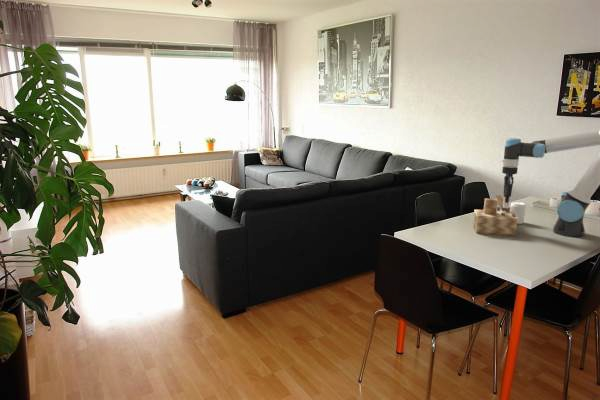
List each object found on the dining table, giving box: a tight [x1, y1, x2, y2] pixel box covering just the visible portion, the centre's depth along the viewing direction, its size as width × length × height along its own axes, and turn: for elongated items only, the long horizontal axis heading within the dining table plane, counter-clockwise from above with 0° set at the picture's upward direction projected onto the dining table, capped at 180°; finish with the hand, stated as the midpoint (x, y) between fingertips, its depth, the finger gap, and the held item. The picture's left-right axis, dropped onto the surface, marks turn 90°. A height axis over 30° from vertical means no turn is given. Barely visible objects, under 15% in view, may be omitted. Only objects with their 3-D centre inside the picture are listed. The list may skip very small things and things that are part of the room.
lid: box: [473, 197, 518, 220], centre depth 245 cm, size 21×14×9 cm
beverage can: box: [509, 201, 526, 225], centre depth 264 cm, size 8×8×12 cm
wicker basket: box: [472, 205, 518, 237], centre depth 250 cm, size 20×20×12 cm
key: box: [495, 195, 508, 211], centre depth 261 cm, size 3×24×4 cm, turn 165°
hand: (505, 207), depth 249 cm, fingers closed
